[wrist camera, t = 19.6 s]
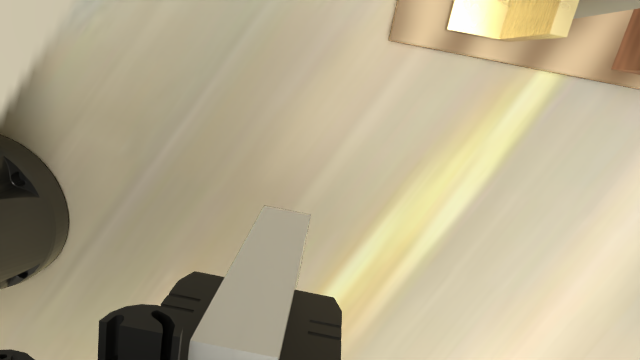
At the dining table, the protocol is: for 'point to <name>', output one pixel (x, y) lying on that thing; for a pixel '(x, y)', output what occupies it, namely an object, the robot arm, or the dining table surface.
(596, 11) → the beverage can
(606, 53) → the shelf
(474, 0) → the bookend
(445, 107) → the dining table surface
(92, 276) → the dining table surface
